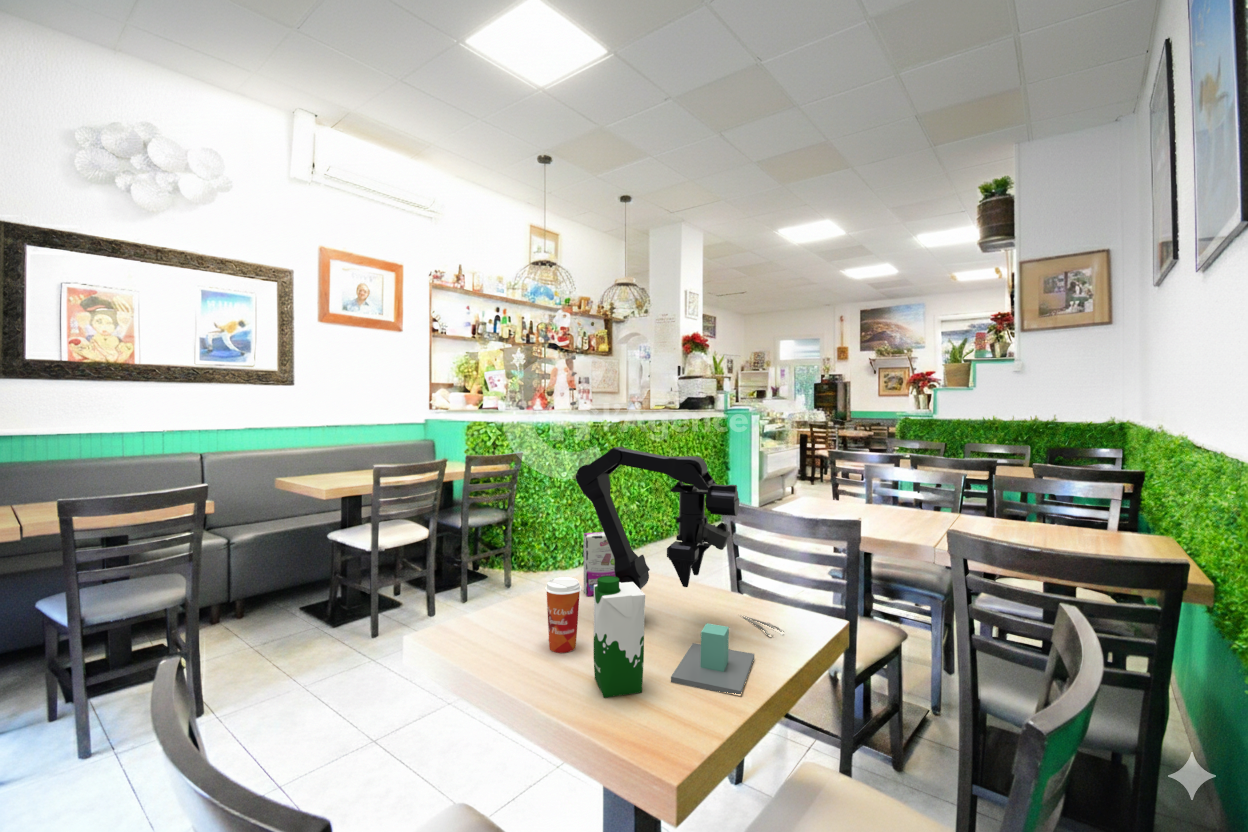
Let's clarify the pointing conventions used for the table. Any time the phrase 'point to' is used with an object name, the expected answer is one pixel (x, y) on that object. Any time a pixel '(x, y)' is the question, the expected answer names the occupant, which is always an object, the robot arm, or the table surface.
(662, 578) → the table surface
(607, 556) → the candy bar box
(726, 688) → the board
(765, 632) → the tweezers
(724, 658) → the block
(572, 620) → the paper cup
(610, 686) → the milk carton
